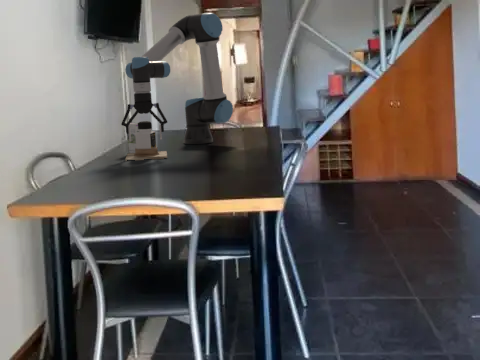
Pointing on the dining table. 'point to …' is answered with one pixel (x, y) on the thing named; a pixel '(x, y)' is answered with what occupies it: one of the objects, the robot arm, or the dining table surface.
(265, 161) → the dining table surface
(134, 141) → the syrup box
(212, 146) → the dining table surface
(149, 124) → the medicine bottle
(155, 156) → the base board
